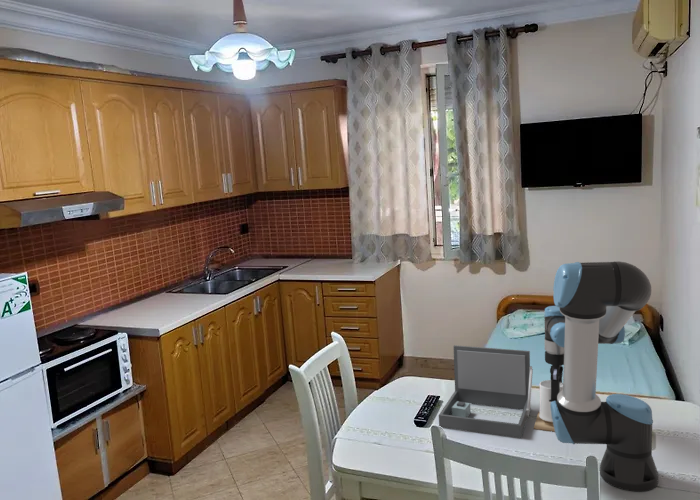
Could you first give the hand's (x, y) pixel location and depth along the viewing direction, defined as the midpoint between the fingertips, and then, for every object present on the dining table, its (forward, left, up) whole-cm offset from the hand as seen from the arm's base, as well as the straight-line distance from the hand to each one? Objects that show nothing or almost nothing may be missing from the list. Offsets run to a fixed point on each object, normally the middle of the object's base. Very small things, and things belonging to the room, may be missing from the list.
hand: (556, 414), depth 202 cm
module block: (-3, +33, -4) cm, 33 cm away
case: (-3, +24, -3) cm, 24 cm away
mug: (0, 0, -1) cm, 1 cm away
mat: (0, 0, -3) cm, 3 cm away
